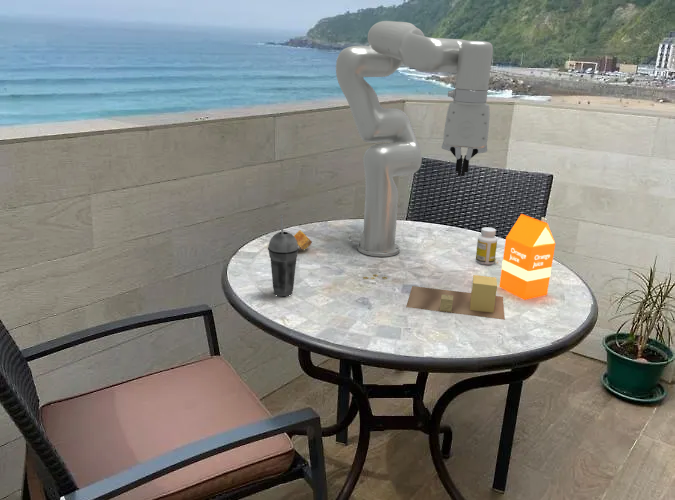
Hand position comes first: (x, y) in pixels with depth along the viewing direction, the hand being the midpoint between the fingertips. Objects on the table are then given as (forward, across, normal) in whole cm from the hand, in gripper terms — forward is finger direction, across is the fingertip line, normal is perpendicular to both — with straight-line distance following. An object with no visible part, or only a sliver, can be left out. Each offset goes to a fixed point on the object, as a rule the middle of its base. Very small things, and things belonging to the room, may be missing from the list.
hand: (461, 174), depth 142 cm
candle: (+29, +23, +18) cm, 41 cm away
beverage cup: (+29, -39, -19) cm, 52 cm away
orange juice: (+29, +18, -2) cm, 34 cm away
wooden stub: (+27, 0, -19) cm, 33 cm away
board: (+28, +2, -14) cm, 32 cm away
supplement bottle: (+29, +9, +20) cm, 36 cm away
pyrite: (+30, -44, +12) cm, 54 cm away
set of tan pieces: (+30, -18, -5) cm, 35 cm away
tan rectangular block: (+27, +8, -15) cm, 32 cm away
